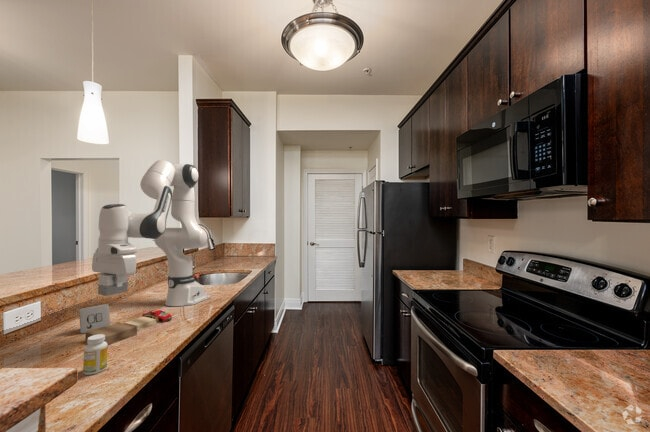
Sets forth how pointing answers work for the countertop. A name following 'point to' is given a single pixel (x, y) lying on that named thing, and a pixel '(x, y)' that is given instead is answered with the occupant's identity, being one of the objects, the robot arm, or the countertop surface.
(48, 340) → the countertop surface
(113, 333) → the walnut stand
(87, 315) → the electrical switch
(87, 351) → the supplement bottle
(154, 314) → the race car
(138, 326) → the oak riser
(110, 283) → the housing
